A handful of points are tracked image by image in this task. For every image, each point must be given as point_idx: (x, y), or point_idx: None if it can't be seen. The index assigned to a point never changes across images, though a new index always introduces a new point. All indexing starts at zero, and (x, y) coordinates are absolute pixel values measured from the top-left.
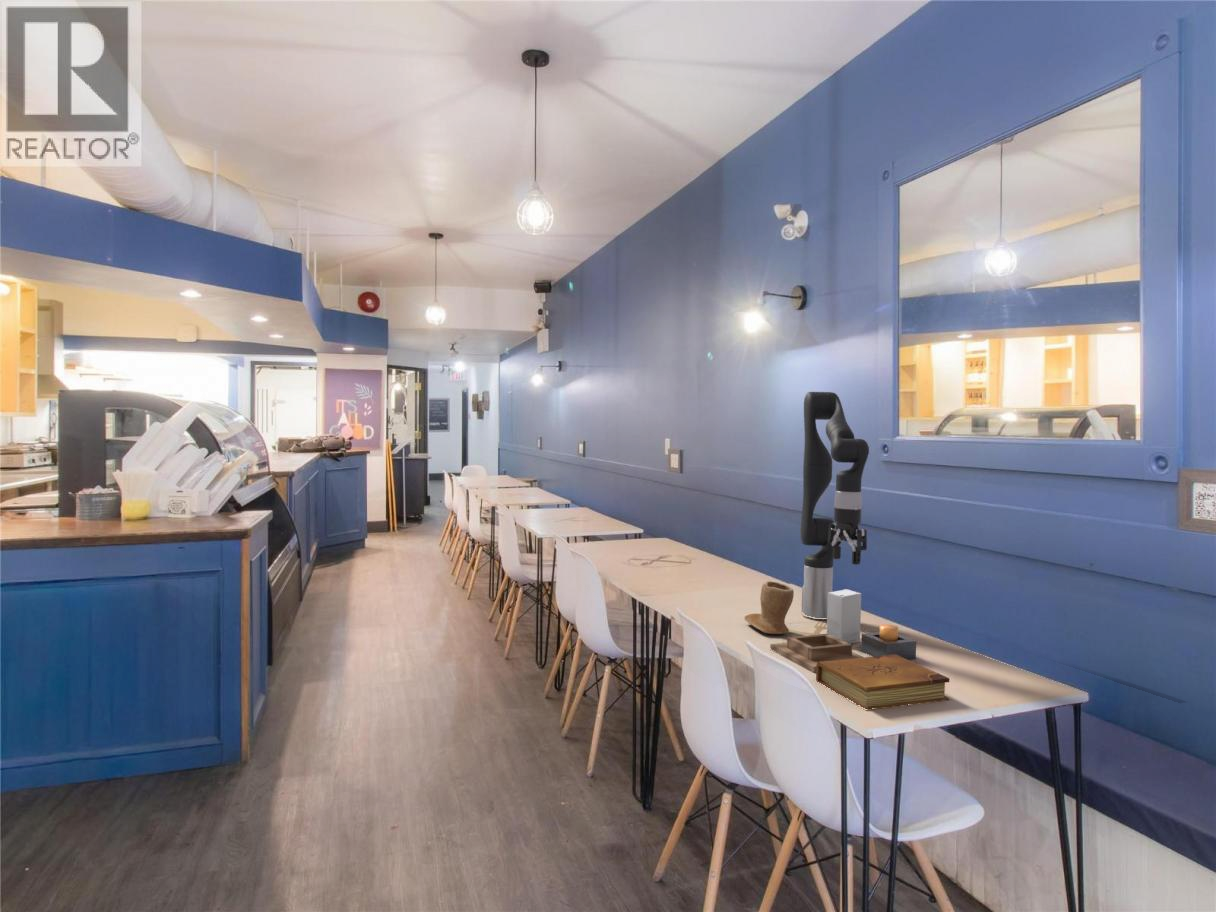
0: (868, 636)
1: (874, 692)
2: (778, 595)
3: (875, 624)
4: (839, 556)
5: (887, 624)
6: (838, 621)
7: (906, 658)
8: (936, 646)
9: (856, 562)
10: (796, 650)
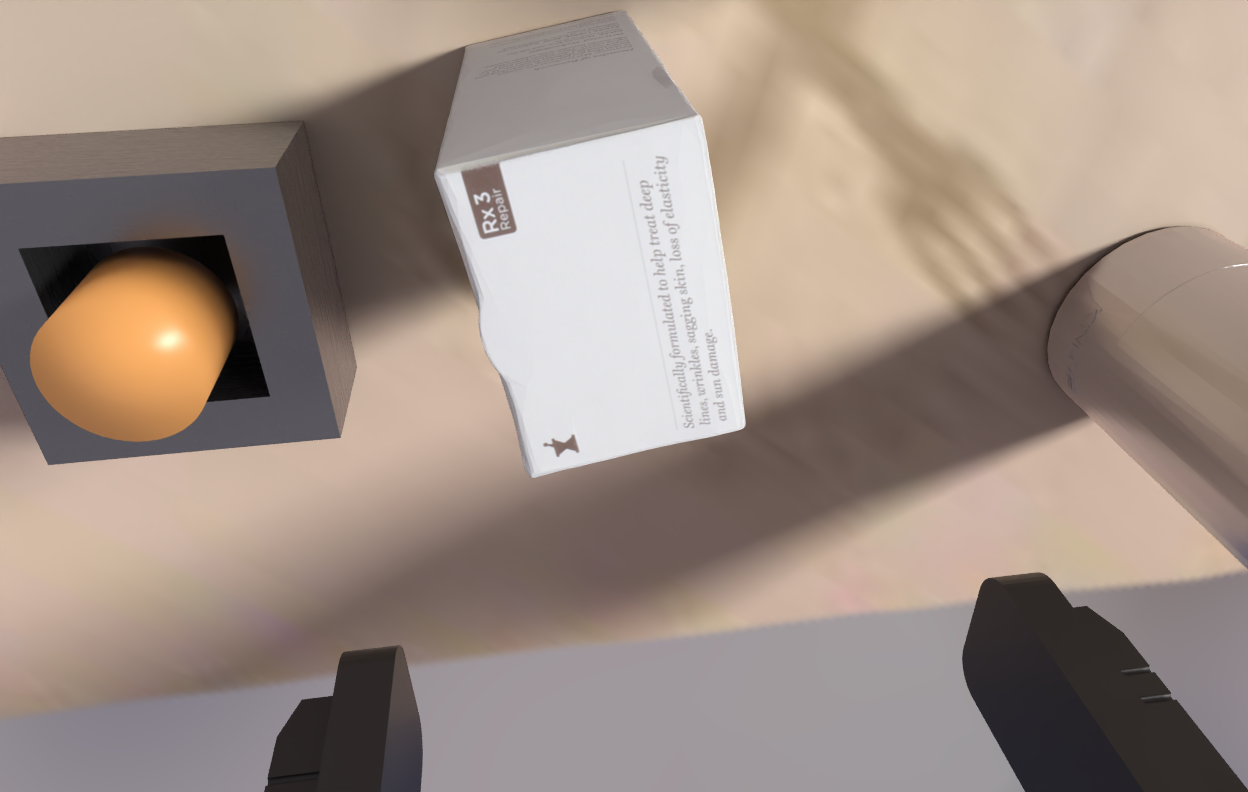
0: (180, 175)
1: None
2: None
3: (833, 556)
4: (985, 694)
5: (202, 404)
6: (495, 79)
7: None
8: (361, 623)
9: (297, 715)
10: None
